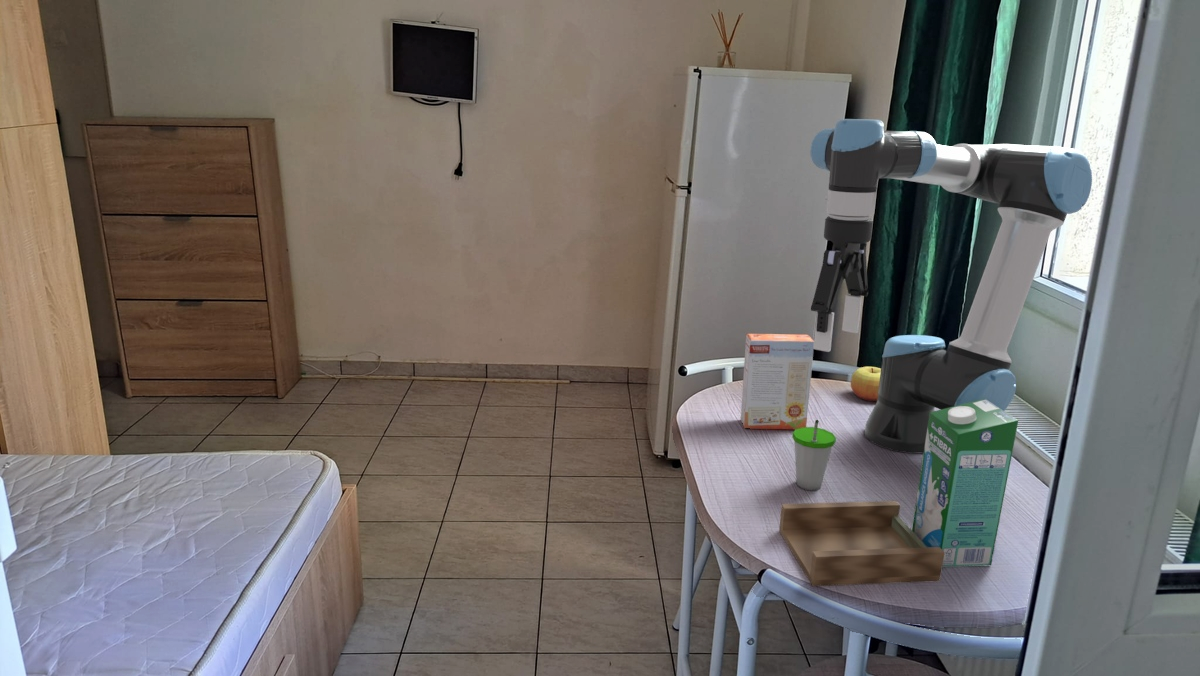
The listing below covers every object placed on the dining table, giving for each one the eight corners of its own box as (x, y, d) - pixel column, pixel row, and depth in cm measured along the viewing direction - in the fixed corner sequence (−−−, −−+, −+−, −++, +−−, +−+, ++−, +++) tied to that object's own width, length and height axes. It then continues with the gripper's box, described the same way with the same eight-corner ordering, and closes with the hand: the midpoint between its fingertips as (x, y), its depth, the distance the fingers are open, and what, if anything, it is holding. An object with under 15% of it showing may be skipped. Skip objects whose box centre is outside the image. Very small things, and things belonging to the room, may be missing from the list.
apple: (851, 403, 191) (855, 372, 189) (846, 389, 200) (850, 359, 198) (893, 406, 189) (898, 375, 187) (886, 392, 199) (890, 362, 196)
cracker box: (800, 420, 179) (809, 333, 173) (806, 431, 174) (815, 341, 168) (739, 419, 179) (746, 331, 173) (743, 429, 174) (750, 339, 168)
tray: (892, 526, 134) (895, 500, 133) (939, 581, 119) (944, 552, 118) (779, 530, 132) (781, 504, 131) (812, 586, 117) (816, 557, 116)
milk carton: (910, 537, 131) (931, 398, 124) (961, 535, 132) (985, 397, 125) (936, 567, 123) (961, 420, 115) (991, 566, 123) (1019, 419, 116)
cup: (801, 471, 154) (809, 400, 150) (837, 485, 149) (846, 412, 144) (779, 484, 149) (786, 411, 144) (816, 499, 143) (824, 423, 139)
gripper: (852, 207, 140) (840, 321, 146) (797, 223, 120) (786, 353, 127) (895, 210, 135) (881, 328, 142) (845, 228, 116) (831, 363, 122)
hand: (836, 340), depth 134 cm, fingers open, 13 cm apart
